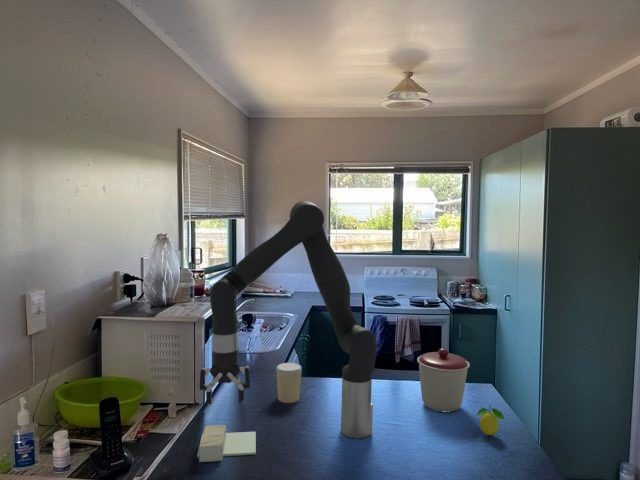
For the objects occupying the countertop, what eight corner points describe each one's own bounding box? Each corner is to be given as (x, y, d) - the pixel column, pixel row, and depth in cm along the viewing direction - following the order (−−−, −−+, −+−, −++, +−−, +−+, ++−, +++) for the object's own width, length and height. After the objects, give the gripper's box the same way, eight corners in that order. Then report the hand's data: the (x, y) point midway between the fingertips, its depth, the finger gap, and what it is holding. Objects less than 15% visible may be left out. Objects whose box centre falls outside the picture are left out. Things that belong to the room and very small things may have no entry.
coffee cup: (297, 392, 168) (297, 361, 168) (304, 402, 160) (304, 369, 159) (273, 395, 165) (273, 363, 165) (279, 405, 157) (279, 372, 156)
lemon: (503, 440, 135) (505, 408, 134) (485, 441, 134) (487, 409, 133) (492, 430, 141) (493, 399, 141) (475, 431, 141) (476, 400, 140)
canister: (405, 404, 159) (407, 347, 158) (434, 392, 171) (436, 338, 170) (449, 423, 146) (451, 360, 145) (477, 408, 158) (480, 350, 156)
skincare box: (225, 424, 131) (223, 444, 119) (225, 439, 131) (223, 460, 119) (204, 425, 130) (199, 446, 118) (204, 440, 130) (199, 462, 118)
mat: (255, 433, 136) (255, 431, 136) (255, 454, 124) (255, 452, 124) (202, 436, 134) (202, 434, 134) (197, 457, 122) (197, 455, 122)
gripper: (197, 352, 123) (198, 409, 124) (249, 350, 125) (249, 406, 126) (201, 344, 130) (201, 398, 131) (250, 343, 132) (250, 395, 133)
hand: (225, 402), depth 128 cm, fingers open, 8 cm apart
